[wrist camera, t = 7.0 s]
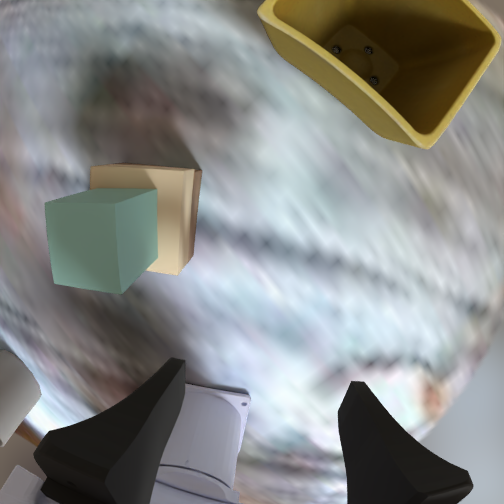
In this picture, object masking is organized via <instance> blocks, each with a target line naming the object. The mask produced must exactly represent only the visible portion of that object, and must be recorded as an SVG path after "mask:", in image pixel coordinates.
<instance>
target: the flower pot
mask: <svg viewBox="0 0 504 504" xmlns="http://www.w3.org/2000/svg"><path fill="white" fill-rule="evenodd" d="M257 14H258V16H259V18H260V20H261V22H262V24H263V26H264V28H265V30H266V32H267V35H268V37H269V39H270V41H271V43H272V45H273V47H274V48H275V50H276V51H277V53H278V54H279V55H280V56H281V57H282V58H284V59H285V60H286V61H287V62H289V63H290V64H292V65H293V66H294V67H296V68H297V69H299V70H300V71H302V72H303V73H304V74H306V75H307V76H309V77H310V78H311V79H313V80H314V81H315V82H317V83H318V84H319V85H320V86H322V87H323V88H324V89H326V90H327V91H328V92H329V93H331V94H332V95H333V96H334V97H335V98H337V99H338V100H339V101H340V102H341V103H343V104H344V105H345V106H346V107H347V108H348V109H349V110H351V111H352V112H353V113H354V114H355V115H356V116H357V117H358V118H359V119H360V120H361V121H363V122H364V123H365V124H366V125H367V126H368V127H369V128H370V129H371V130H372V131H374V132H375V133H376V134H378V135H379V136H381V137H383V138H386V139H389V140H392V141H396V142H400V143H404V144H408V145H411V146H415V147H419V148H422V149H429V148H430V147H432V146H433V145H434V144H435V143H436V141H437V140H438V139H439V138H440V136H441V135H442V134H443V132H444V131H445V129H446V128H447V127H448V125H449V124H450V122H451V121H452V119H453V118H454V116H455V115H456V113H457V112H458V111H459V109H460V108H461V106H462V105H463V103H464V102H465V100H466V99H467V97H468V96H469V94H470V93H471V91H472V90H473V88H474V87H475V85H476V84H477V82H478V81H479V79H480V78H481V76H482V75H483V73H484V72H485V70H486V69H487V68H488V66H489V65H490V63H491V62H492V60H493V58H494V57H495V55H496V54H497V52H498V51H499V48H500V45H501V37H500V35H499V34H498V32H497V31H496V30H495V28H494V27H493V26H492V25H491V24H490V23H489V21H488V20H487V19H486V18H485V17H484V16H483V15H482V14H481V13H480V12H479V11H478V10H477V9H476V8H475V7H474V6H473V5H472V4H471V3H470V2H469V1H468V0H265V1H264V2H263V3H262V4H261V5H260V6H259V8H258V9H257ZM335 46H336V47H339V48H340V50H341V52H340V53H338V54H336V53H334V52H333V51H332V48H333V47H335ZM365 48H370V49H371V50H372V54H367V53H366V52H365ZM371 77H375V78H377V80H378V83H377V84H372V83H371V81H370V79H371Z"/></svg>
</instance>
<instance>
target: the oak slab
mask: <svg viewBox="0 0 504 504" xmlns="http://www.w3.org/2000/svg"><path fill="white" fill-rule="evenodd" d="M193 179H194V169H188V168H174V167H159V166H142V165H118V164H107V165H98V166H91V170H90V190H92V189H96V188H138V189H157V236H158V259H156V260H155V261H154V262H153V263H152V264H151V265H150V266H149V267H148V268H147V269H146V271H152V272H159V273H165V274H171V275H179V273H180V272H181V271H182V269H183V268H184V267H185V265H186V264H187V263H188V251H189V233H190V218H191V204H192V191H193Z"/></svg>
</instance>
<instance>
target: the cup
mask: <svg viewBox="0 0 504 504" xmlns="http://www.w3.org/2000/svg"><path fill="white" fill-rule="evenodd" d="M41 395H42V394H41V390H40V386H39V384H38V382H37V381H36V379H35V377H34V375H33V374H32V372H31V371H30V370H29V369H28V368H27V366H26V365H25V364H24V363H23V362H22V361H21V360H20V359H19V358H17V357H16V356H15V355H14V354H13V353H11V352H8V351H6V350H1V351H0V446H1V447H3V446H4V445H5V443H6V442H7V440H8V439H9V438H10V437H11V435H12V434H13V433H14V431H15V430H16V429H17V427H18V426H19V425H20V423H21V422H22V421H23V419H24V418H25V417H26V415H27V414H28V413H29V412H30V410H31V409H32V408H33V406H34V405H35V404H36V403H37V401H38V400H39V399H40V397H41Z"/></svg>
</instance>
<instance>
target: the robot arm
mask: <svg viewBox="0 0 504 504" xmlns="http://www.w3.org/2000/svg"><path fill="white" fill-rule="evenodd" d="M243 402H245V403H243ZM250 402H251V397H250V396H249V395H247V394H241V393H234V392H228V391H222V390H216V389H211V388H206V387H200V386H195V385H191V384H186V383H185V360H180V359H176V358H170V359H169V360H168V361H167V362H166V363H165V364H164V365H163V366H162V367H161V368H160V369H159V370H158V371H157V372H156V373H155V374H154V375H153V376H152V377H151V378H150V379H148V380H147V381H146V382H145V383H144V384H143V385H142V386H140V387H139V388H138V389H137V390H135V391H134V392H133V393H131V394H130V395H129V396H128V397H126V398H125V399H123V400H122V401H120V402H119V403H117V404H116V405H114V406H112V407H111V408H109V409H107V410H105V411H103V412H101V413H100V414H98V415H96V416H93V417H91V418H89V419H86V420H84V421H81V422H79V423H76V424H73V425H70V426H67V427H63V428H59V429H55V430H51V431H49V432H48V433H47V434H46V435H45V437H44V438H43V439H42V441H41V442H40V444H39V445H38V447H37V448H36V450H35V452H34V458H35V460H36V462H37V463H38V465H39V466H40V468H41V469H42V470H43V472H44V473H45V474H46V476H47V479H46V481H45V482H44V481H43V480H41V479H40V478H39V477H37V476H36V475H34V474H32V473H31V472H29V471H27V470H26V469H24V468H22V467H21V466H19V465H16V467H15V468H14V470H13V471H12V473H11V474H10V476H9V478H8V479H7V481H6V482H5V484H4V486H3V487H2V489H1V491H0V504H243V503H238V502H239V494H240V492H238V491H235V490H233V485H234V478H235V470H236V463H237V455H238V452H239V451H240V448H241V443H242V439H243V434H244V430H245V425H246V421H247V416H248V411H249V406H250ZM338 427H339V435H340V441H341V446H342V451H343V457H344V462H345V468H346V475H347V504H457V503H459V502H460V501H461V500H462V499H463V498H465V497H466V496H467V495H468V494H469V493H470V492H471V490H472V489H473V483H472V480H471V478H470V475H469V473H468V471H467V470H464V469H462V468H460V467H458V466H455V465H453V464H451V463H449V462H447V461H446V460H444V459H442V458H440V457H438V456H437V455H435V454H434V453H432V452H431V451H430V450H428V449H427V448H425V447H424V446H422V445H421V444H420V443H419V442H418V441H416V440H415V439H414V438H413V437H412V436H411V435H410V434H408V433H407V432H406V431H405V430H404V429H403V428H402V427H401V426H400V425H399V423H398V422H397V421H396V420H395V419H394V418H393V417H392V416H391V415H390V414H389V412H388V411H387V410H386V409H385V408H384V406H383V405H382V404H381V403H380V401H379V400H378V399H377V397H376V396H375V395H374V394H373V392H372V391H371V390H370V389H369V387H368V386H367V385H366V383H365V382H360V381H351V383H350V385H349V388H348V390H347V392H346V395H345V397H344V399H343V401H342V403H341V406H340V408H339V410H338Z"/></svg>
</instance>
